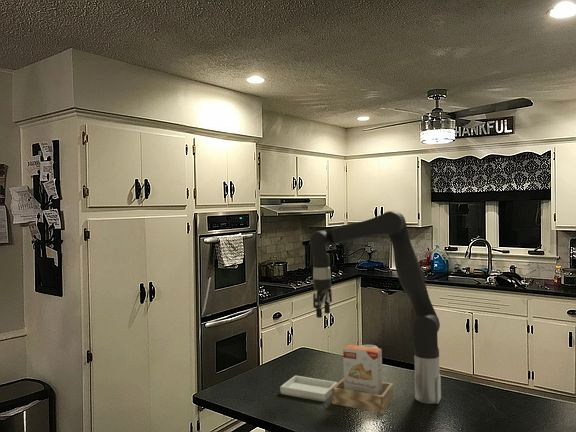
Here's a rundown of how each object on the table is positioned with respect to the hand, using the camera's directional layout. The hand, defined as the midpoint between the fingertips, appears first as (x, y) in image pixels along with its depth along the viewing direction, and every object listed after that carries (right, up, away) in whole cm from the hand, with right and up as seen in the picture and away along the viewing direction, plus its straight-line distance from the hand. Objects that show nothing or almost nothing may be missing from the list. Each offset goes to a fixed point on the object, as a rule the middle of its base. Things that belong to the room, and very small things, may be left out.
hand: (323, 315), depth 202 cm
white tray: (-6, -30, -8) cm, 31 cm away
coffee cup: (+20, -29, +1) cm, 35 cm away
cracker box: (+14, -30, -19) cm, 38 cm away
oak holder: (+14, -29, -19) cm, 38 cm away
